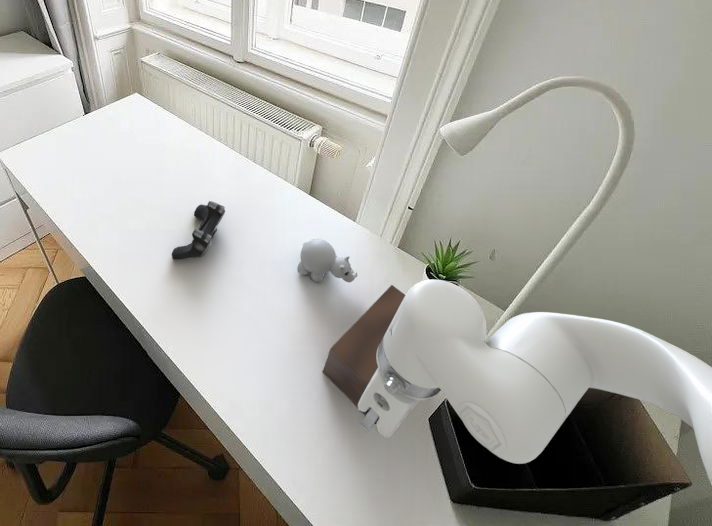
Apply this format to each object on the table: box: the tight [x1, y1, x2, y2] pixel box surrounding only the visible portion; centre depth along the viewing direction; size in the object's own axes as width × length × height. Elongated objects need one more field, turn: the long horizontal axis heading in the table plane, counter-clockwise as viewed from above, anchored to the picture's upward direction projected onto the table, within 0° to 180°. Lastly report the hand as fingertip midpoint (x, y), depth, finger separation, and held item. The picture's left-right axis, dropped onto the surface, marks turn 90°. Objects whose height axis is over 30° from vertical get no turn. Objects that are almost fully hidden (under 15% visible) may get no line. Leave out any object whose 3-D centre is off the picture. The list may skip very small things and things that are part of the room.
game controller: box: [171, 200, 226, 261], centre depth 93 cm, size 16×7×10 cm, turn 159°
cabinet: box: [322, 284, 406, 416], centre depth 71 cm, size 9×18×9 cm, turn 130°
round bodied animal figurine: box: [296, 238, 358, 283], centre depth 84 cm, size 7×12×8 cm, turn 54°
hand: (375, 415), depth 60 cm, fingers closed
